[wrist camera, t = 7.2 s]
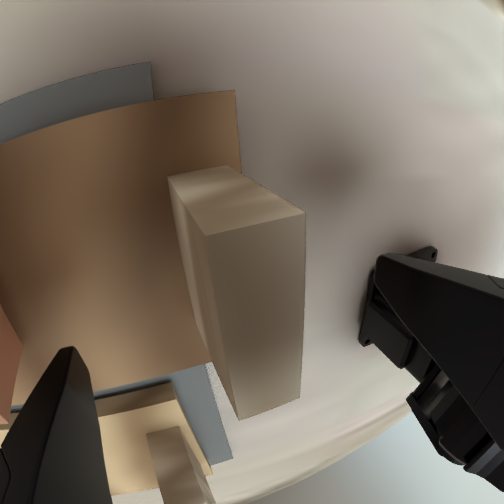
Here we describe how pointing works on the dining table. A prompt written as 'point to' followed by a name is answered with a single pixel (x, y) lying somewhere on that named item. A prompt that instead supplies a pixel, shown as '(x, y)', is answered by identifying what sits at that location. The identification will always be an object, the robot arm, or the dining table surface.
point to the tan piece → (149, 446)
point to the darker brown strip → (152, 252)
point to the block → (8, 365)
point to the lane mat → (89, 102)
